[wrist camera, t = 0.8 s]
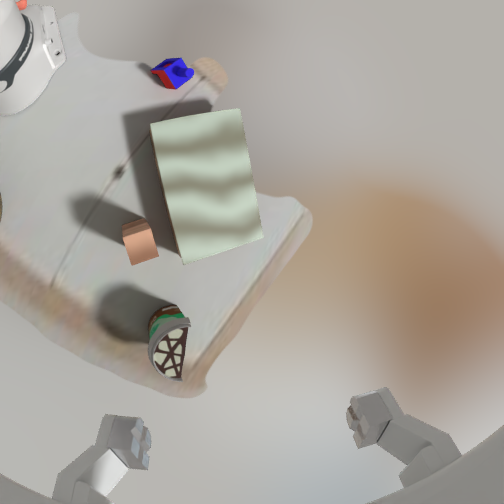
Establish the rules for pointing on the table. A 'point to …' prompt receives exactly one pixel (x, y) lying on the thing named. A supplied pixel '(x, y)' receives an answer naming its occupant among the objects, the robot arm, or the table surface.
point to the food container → (168, 341)
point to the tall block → (139, 241)
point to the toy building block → (173, 72)
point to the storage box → (206, 182)
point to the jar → (0, 207)
